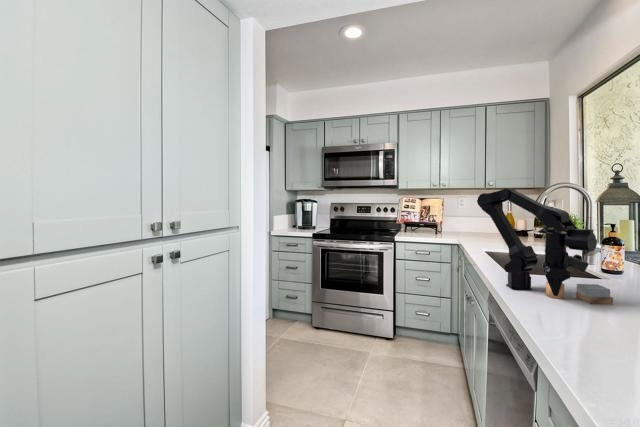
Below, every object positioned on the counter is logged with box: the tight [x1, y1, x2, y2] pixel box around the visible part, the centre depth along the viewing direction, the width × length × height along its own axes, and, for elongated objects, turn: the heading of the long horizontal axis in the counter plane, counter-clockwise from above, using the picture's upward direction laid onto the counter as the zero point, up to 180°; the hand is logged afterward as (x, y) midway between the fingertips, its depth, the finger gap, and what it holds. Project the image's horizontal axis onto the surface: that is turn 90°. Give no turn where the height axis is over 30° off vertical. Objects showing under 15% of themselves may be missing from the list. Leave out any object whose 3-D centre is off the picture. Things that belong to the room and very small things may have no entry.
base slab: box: [575, 290, 614, 306], centre depth 103 cm, size 6×6×2 cm
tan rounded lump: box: [545, 281, 565, 300], centre depth 108 cm, size 5×5×4 cm
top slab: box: [576, 283, 611, 297], centre depth 103 cm, size 6×6×2 cm
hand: (554, 293), depth 108 cm, fingers open, 6 cm apart
